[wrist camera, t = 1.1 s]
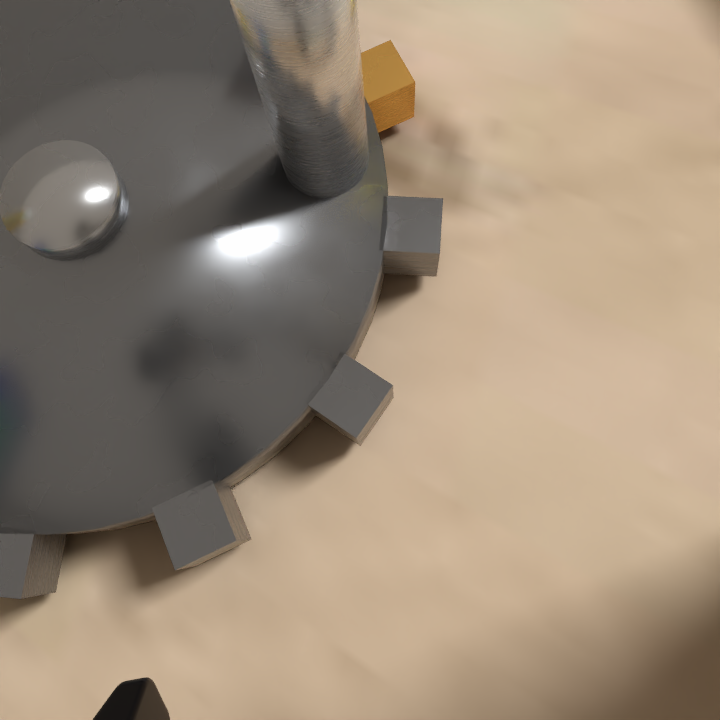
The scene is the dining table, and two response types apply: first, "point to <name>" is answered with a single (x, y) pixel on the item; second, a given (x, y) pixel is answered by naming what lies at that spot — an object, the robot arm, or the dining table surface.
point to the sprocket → (185, 258)
